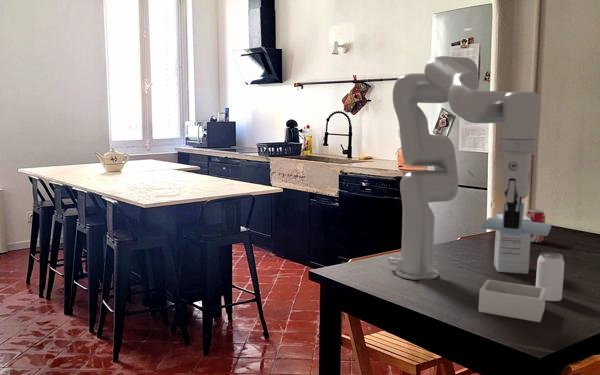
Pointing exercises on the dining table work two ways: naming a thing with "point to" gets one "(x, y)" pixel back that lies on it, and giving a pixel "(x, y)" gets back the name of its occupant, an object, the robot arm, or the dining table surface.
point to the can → (550, 275)
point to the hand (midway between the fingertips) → (512, 225)
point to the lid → (523, 225)
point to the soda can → (536, 217)
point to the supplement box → (512, 251)
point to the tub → (512, 300)
